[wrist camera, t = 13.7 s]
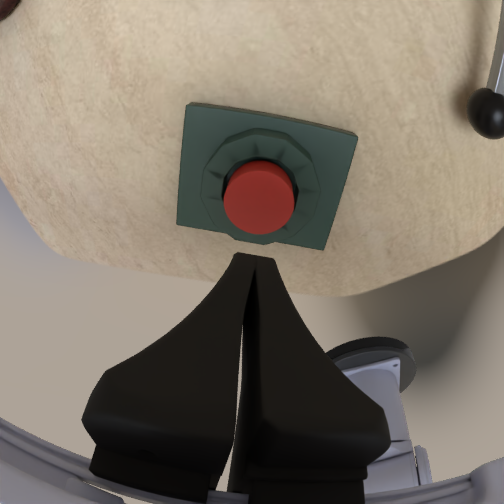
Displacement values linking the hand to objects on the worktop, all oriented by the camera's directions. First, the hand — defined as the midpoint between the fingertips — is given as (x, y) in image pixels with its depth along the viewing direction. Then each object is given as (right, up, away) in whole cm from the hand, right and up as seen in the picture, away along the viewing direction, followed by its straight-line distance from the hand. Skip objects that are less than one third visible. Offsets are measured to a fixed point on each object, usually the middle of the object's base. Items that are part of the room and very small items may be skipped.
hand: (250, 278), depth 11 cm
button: (+1, +4, +6) cm, 8 cm away
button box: (+1, +6, +9) cm, 10 cm away
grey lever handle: (+15, +19, -5) cm, 24 cm away
